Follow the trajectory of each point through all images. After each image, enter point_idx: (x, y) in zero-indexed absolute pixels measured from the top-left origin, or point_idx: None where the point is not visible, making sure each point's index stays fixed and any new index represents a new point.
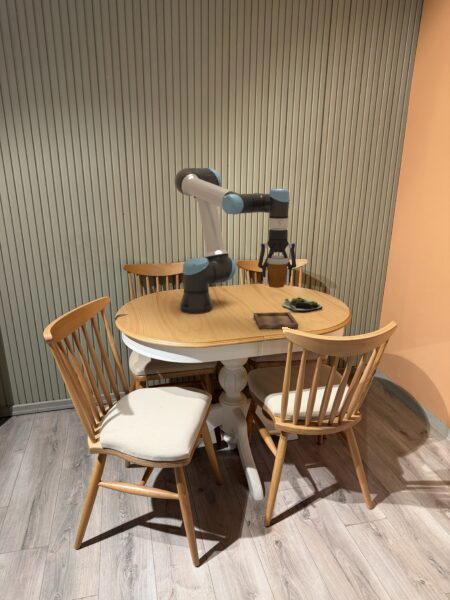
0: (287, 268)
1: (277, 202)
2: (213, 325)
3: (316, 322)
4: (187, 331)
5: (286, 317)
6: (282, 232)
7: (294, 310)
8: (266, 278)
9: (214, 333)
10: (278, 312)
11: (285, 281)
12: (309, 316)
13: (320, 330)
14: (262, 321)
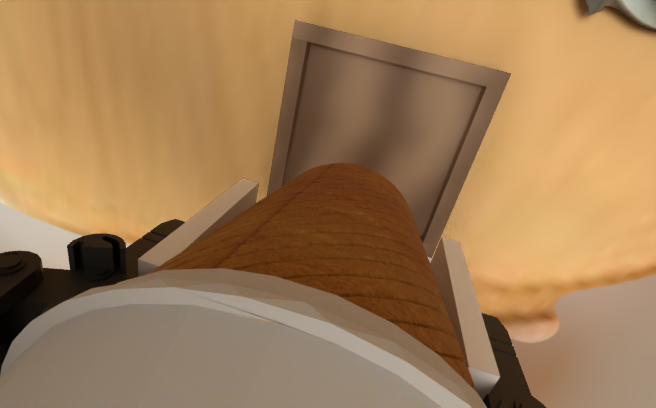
0: (480, 391)
1: None
2: (104, 86)
3: (573, 209)
4: (18, 121)
5: (457, 116)
6: None
7: (596, 2)
8: None
9: (109, 174)
10: (439, 59)
11: (441, 255)
12: (619, 111)
13: (508, 292)
14: (310, 133)
